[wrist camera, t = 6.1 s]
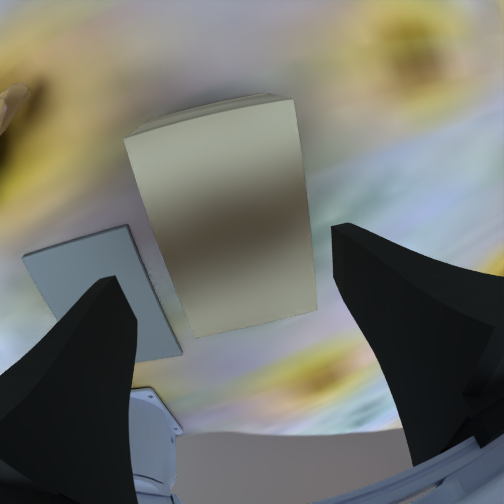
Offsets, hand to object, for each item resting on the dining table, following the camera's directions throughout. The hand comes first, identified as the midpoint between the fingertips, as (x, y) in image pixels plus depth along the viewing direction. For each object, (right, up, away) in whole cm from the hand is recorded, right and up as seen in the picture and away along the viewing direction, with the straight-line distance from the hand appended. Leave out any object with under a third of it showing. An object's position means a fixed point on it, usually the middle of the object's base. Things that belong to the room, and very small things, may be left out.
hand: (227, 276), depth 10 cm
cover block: (0, +4, +6) cm, 7 cm away
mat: (-10, -4, +12) cm, 16 cm away
